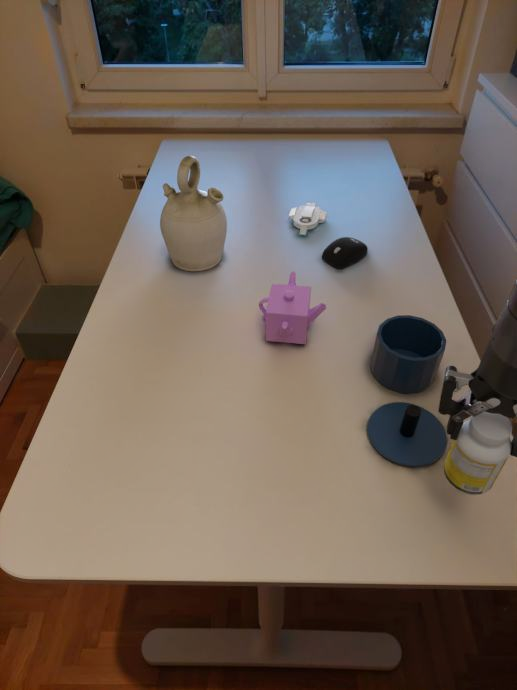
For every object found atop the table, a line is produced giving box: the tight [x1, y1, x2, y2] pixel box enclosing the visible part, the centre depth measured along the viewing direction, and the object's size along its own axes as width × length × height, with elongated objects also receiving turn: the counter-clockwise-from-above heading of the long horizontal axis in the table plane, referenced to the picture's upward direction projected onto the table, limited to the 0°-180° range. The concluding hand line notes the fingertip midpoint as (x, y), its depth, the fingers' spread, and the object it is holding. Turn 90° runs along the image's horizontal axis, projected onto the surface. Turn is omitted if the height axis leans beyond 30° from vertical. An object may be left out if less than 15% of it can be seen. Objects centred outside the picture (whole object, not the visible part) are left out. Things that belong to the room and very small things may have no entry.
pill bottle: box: [443, 411, 513, 496], centre depth 64 cm, size 6×6×12 cm
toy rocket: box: [288, 201, 328, 237], centre depth 134 cm, size 16×10×2 cm, turn 166°
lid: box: [366, 401, 448, 468], centre depth 81 cm, size 13×13×7 cm
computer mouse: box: [321, 236, 369, 270], centre depth 121 cm, size 8×12×4 cm, turn 129°
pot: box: [370, 314, 447, 395], centre depth 91 cm, size 12×12×8 cm
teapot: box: [258, 271, 327, 345], centre depth 99 cm, size 18×13×10 cm
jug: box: [159, 155, 228, 272], centre depth 114 cm, size 15×16×25 cm
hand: (483, 442), depth 63 cm, fingers closed on pill bottle, 6 cm apart
